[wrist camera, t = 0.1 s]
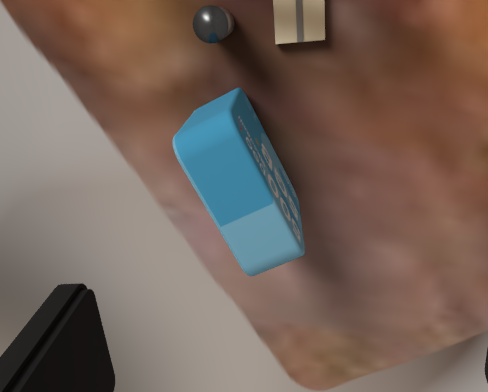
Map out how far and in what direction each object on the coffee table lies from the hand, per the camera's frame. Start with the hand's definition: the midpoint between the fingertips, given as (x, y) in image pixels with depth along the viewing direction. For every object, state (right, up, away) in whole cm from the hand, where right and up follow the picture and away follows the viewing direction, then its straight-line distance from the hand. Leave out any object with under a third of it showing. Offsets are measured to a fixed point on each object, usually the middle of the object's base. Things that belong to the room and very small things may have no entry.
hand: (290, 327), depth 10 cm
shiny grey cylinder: (-3, +17, +27) cm, 32 cm away
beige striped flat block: (+3, +18, +26) cm, 32 cm away
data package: (-1, +7, +31) cm, 32 cm away
